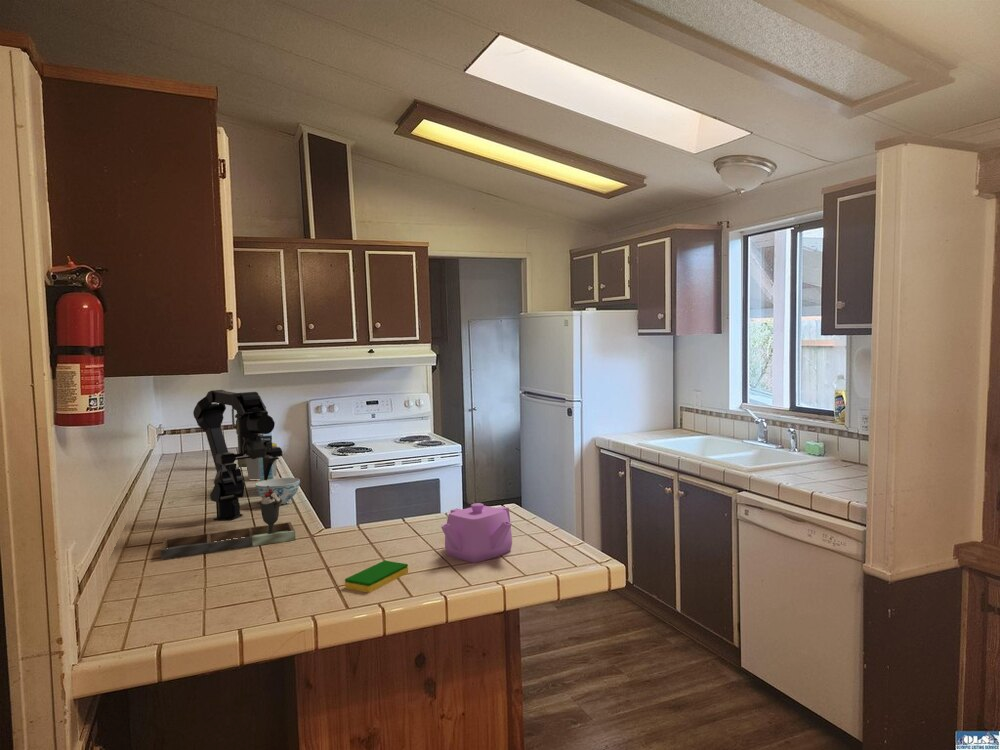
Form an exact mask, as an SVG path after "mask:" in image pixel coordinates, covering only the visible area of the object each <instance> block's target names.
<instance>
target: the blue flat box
mask: <svg viewBox="0 0 1000 750" xmlns="http://www.w3.org/2000/svg"><path fill="white" fill-rule="evenodd" d="M259 436H260V438H261V442H264V441H271V442H272V443H273V435H272V431H271V432H270V433H268V434H259ZM272 447H273V446H272ZM259 463H260V481H264V472H263V458H262V457H261V458H259ZM269 479H274V473H273V464H272V466H271V469H270V472H269V476H268V479H267V480H269ZM260 481H259V482H260Z"/></svg>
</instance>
